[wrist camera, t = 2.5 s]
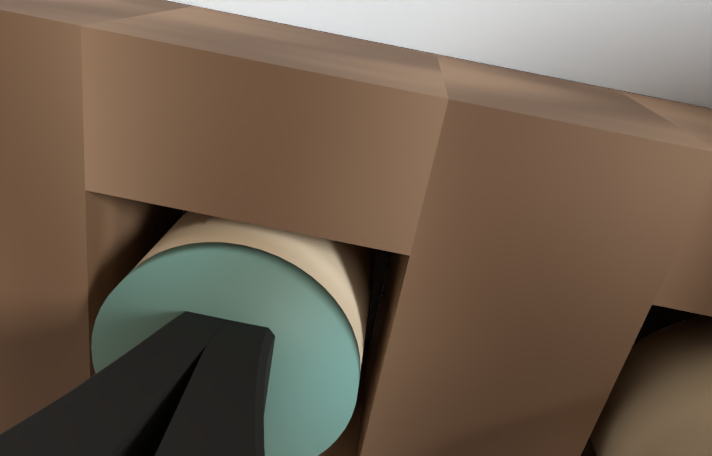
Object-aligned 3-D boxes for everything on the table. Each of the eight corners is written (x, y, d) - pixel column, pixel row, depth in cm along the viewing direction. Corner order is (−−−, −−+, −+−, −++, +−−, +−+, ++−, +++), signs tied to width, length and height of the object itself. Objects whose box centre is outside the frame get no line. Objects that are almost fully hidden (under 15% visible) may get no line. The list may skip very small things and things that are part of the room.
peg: (392, 184, 11) (382, 288, 8) (356, 348, 13) (334, 496, 9) (192, 144, 11) (88, 228, 8) (183, 312, 13) (93, 447, 9)
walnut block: (954, 156, 11) (1238, 256, 7) (732, 495, 14) (840, 674, 11) (104, -12, 11) (-54, -2, 7) (108, 368, 14) (5, 502, 11)
